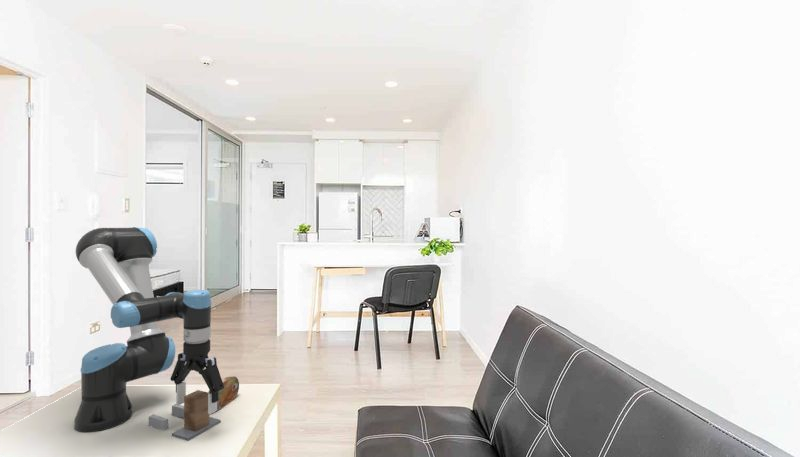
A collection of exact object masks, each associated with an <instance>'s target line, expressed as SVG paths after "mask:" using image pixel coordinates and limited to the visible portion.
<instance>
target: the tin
mask: <svg viewBox="0 0 800 457" xmlns="http://www.w3.org/2000/svg"><path fill="white" fill-rule="evenodd" d="M222 382H223V385H224V389H222V390H220V391H218V401H217V411H220V410H221V409H223V408H224V407H226V406H227V405H228V404H230V403H231V402H233V401H234V400H235V399H236V398H237V396H238V393H239V389H240V381H239V379H238V377H237V376H227V377H225V378H223V379H222ZM213 388H214V387H213ZM207 392H208V393H209V392H210V390H209V389H208V391H207Z"/></svg>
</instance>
